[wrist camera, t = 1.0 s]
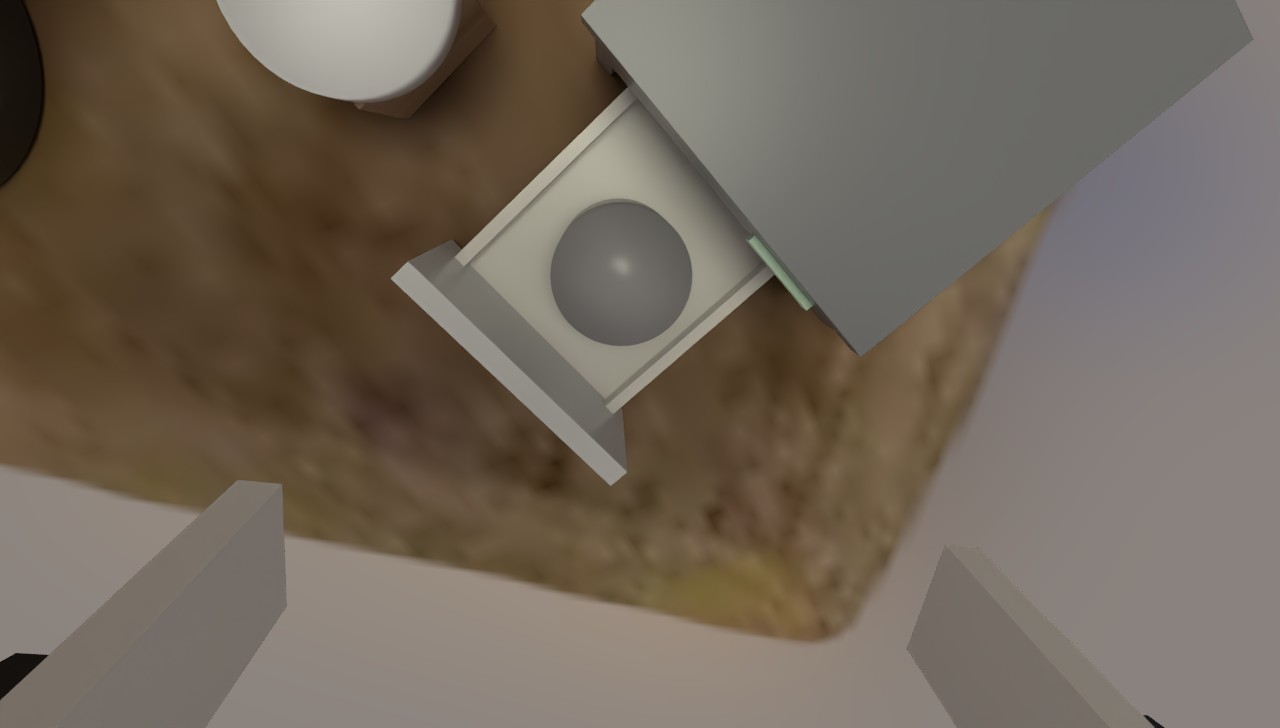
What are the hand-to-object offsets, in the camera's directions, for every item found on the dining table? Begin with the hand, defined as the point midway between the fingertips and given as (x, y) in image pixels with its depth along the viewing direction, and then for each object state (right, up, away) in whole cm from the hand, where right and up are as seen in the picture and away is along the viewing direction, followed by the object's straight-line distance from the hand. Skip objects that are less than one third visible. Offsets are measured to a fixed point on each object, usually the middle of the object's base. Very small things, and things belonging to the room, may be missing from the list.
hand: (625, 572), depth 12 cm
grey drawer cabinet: (+9, +18, +17) cm, 26 cm away
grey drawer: (0, +10, +19) cm, 21 cm away
